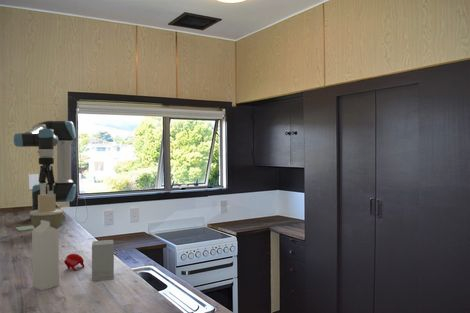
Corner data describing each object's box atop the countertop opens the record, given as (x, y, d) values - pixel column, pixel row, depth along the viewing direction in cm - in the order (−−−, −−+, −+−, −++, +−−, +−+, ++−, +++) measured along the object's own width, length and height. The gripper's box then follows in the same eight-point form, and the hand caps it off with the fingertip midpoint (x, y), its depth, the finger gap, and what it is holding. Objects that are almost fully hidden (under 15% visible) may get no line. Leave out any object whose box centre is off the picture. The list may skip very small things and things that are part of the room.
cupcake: (68, 224, 240) (67, 204, 240) (60, 226, 232) (60, 206, 231) (54, 223, 241) (54, 204, 241) (46, 226, 233) (46, 206, 232)
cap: (69, 264, 144) (83, 253, 148) (60, 257, 147) (73, 246, 151) (76, 277, 149) (89, 266, 153) (67, 270, 152) (80, 259, 156)
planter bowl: (30, 237, 205) (30, 216, 204) (30, 231, 219) (30, 212, 219) (64, 234, 212) (63, 213, 212) (62, 228, 226) (61, 209, 226)
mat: (15, 228, 227) (15, 227, 227) (33, 226, 234) (33, 225, 234) (19, 231, 219) (19, 230, 219) (39, 228, 225) (39, 227, 225)
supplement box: (113, 279, 137) (113, 243, 137) (91, 281, 135) (91, 245, 135) (114, 273, 145) (113, 239, 144) (92, 275, 142) (92, 240, 142)
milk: (50, 282, 135) (49, 218, 135) (59, 285, 132) (58, 220, 131) (32, 287, 130) (31, 221, 130) (41, 290, 127) (40, 222, 126)
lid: (25, 212, 216) (25, 194, 216) (58, 209, 227) (57, 192, 227) (34, 216, 203) (34, 197, 203) (68, 213, 215) (67, 194, 214)
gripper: (32, 157, 222) (32, 194, 222) (45, 157, 203) (46, 198, 203) (46, 156, 227) (47, 193, 227) (60, 157, 208) (61, 197, 208)
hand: (46, 195), depth 215 cm, fingers open, 13 cm apart
